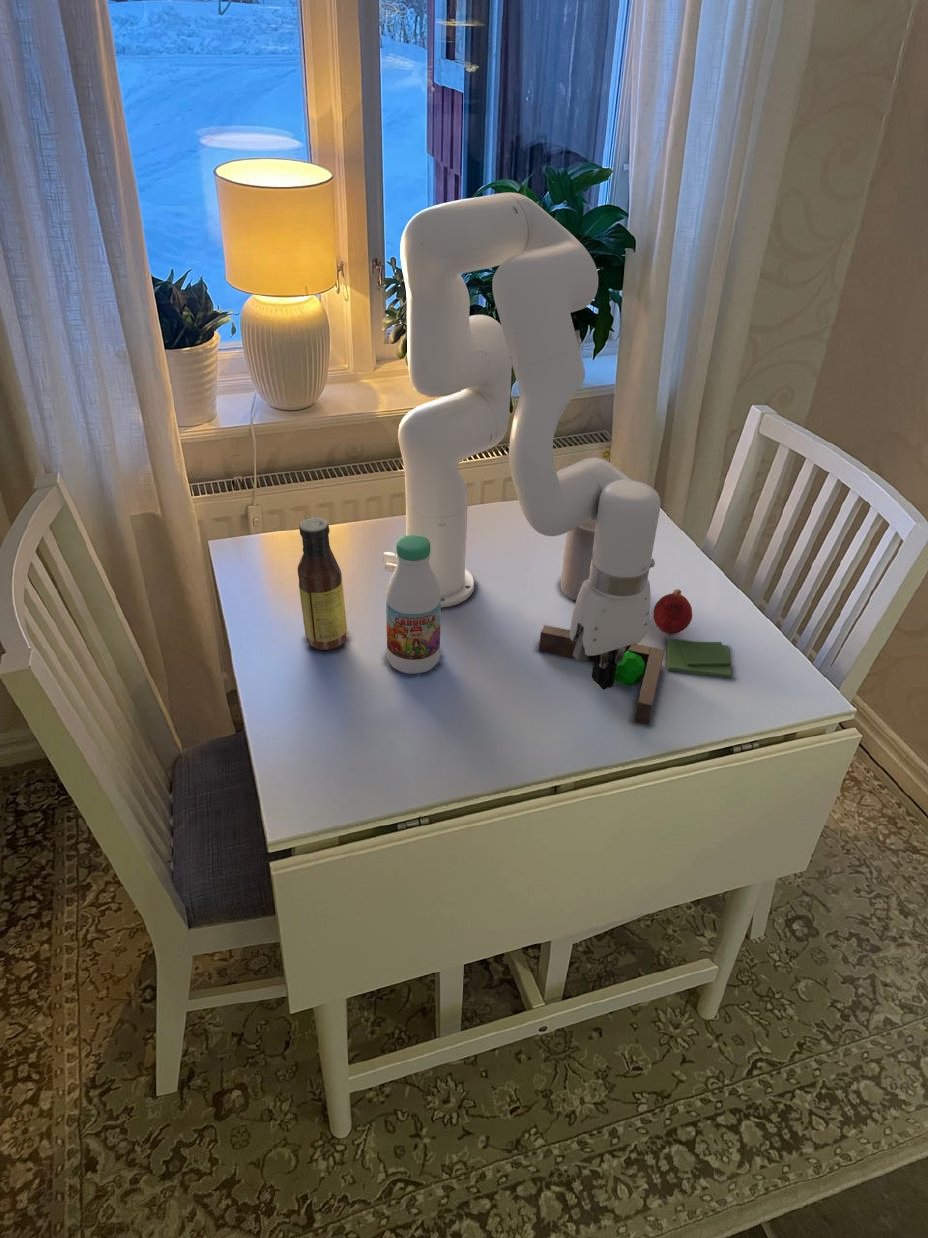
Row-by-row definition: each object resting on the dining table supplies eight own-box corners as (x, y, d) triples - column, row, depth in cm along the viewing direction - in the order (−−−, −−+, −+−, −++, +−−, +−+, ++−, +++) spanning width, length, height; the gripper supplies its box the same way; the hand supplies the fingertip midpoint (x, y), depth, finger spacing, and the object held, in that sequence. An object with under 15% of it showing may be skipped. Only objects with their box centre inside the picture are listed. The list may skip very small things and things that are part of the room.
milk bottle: (379, 649, 138) (376, 533, 127) (428, 638, 141) (429, 523, 129) (397, 680, 133) (396, 562, 121) (447, 668, 135) (451, 551, 124)
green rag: (668, 670, 136) (669, 664, 136) (667, 641, 142) (668, 635, 142) (730, 678, 135) (732, 672, 135) (727, 648, 141) (728, 642, 141)
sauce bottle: (355, 634, 141) (349, 519, 130) (333, 657, 137) (325, 540, 125) (318, 622, 143) (309, 509, 132) (295, 644, 139) (284, 529, 127)
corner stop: (520, 696, 131) (522, 677, 129) (541, 643, 141) (543, 624, 139) (648, 725, 127) (652, 705, 125) (661, 668, 137) (664, 649, 135)
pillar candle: (603, 568, 158) (614, 490, 149) (629, 600, 151) (642, 519, 142) (550, 577, 156) (558, 497, 147) (574, 610, 148) (584, 528, 139)
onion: (687, 647, 141) (696, 604, 136) (649, 641, 142) (657, 598, 137) (687, 625, 146) (696, 582, 141) (650, 620, 147) (658, 577, 142)
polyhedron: (611, 668, 137) (615, 641, 134) (644, 675, 135) (649, 648, 133) (605, 688, 133) (610, 662, 130) (640, 695, 132) (645, 669, 129)
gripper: (648, 547, 127) (630, 654, 137) (554, 572, 121) (543, 681, 132) (682, 575, 121) (661, 684, 132) (586, 602, 115) (571, 714, 126)
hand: (602, 682), depth 132 cm, fingers closed
